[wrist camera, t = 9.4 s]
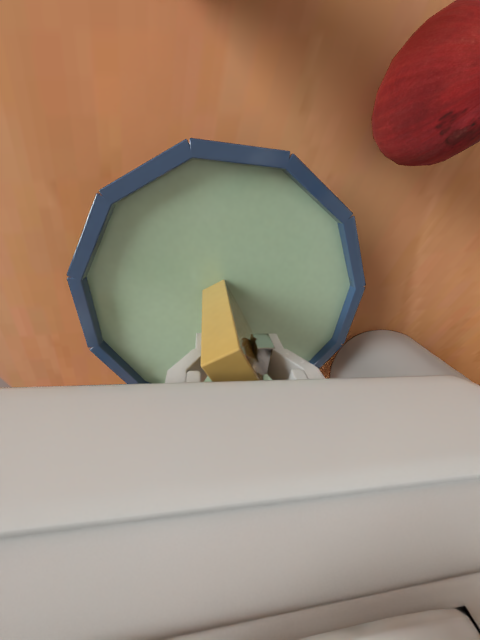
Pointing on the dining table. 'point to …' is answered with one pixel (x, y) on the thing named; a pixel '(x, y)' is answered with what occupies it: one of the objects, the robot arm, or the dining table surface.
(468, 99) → the onion
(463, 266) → the dining table surface
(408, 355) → the lumpy-topped squat cylinder
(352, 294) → the plate
